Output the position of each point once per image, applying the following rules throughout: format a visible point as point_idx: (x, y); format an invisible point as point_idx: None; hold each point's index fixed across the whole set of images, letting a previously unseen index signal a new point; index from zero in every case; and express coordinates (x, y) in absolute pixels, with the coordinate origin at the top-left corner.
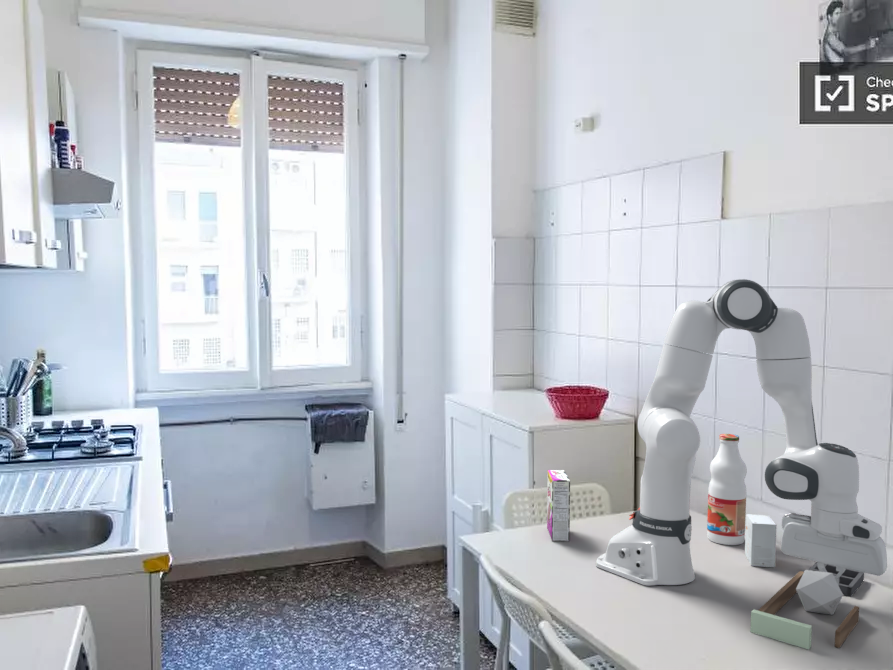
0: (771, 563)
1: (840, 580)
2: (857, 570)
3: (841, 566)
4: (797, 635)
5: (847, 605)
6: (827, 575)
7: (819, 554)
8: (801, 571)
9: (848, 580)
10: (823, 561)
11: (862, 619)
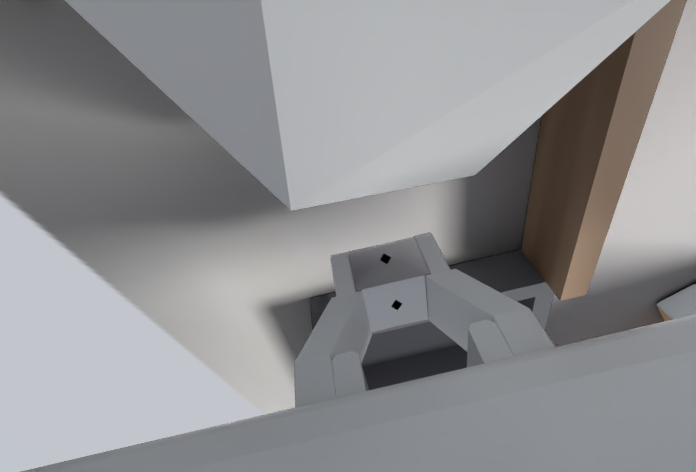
0: (685, 307)
1: (402, 369)
2: (126, 450)
3: (300, 414)
4: None
5: (258, 200)
6: (269, 3)
7: (613, 451)
8: (577, 294)
9: (373, 384)
10: (507, 378)
11: (42, 65)
